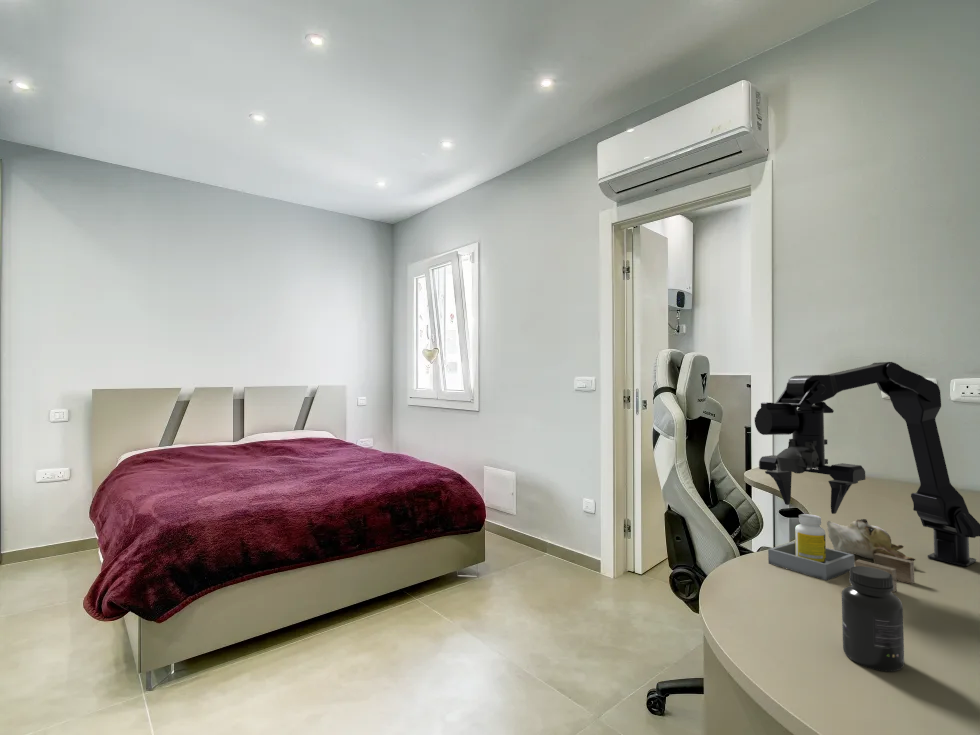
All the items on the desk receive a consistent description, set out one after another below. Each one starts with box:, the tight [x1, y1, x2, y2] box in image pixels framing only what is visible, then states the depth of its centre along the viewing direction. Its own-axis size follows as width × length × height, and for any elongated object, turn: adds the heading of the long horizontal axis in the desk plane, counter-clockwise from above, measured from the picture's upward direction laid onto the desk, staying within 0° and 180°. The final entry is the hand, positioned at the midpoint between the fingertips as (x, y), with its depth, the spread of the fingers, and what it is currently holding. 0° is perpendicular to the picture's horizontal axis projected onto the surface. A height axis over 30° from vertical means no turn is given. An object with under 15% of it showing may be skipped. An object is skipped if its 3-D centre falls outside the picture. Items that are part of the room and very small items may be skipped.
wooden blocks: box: [854, 553, 915, 594], centre depth 98 cm, size 9×6×4 cm, turn 121°
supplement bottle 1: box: [794, 513, 827, 563], centre depth 107 cm, size 5×5×10 cm
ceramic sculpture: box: [826, 518, 916, 562], centre depth 113 cm, size 11×9×15 cm
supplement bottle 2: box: [841, 566, 905, 673], centre depth 70 cm, size 7×7×12 cm
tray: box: [767, 540, 855, 581], centre depth 107 cm, size 11×11×3 cm
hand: (809, 508), depth 107 cm, fingers open, 9 cm apart
